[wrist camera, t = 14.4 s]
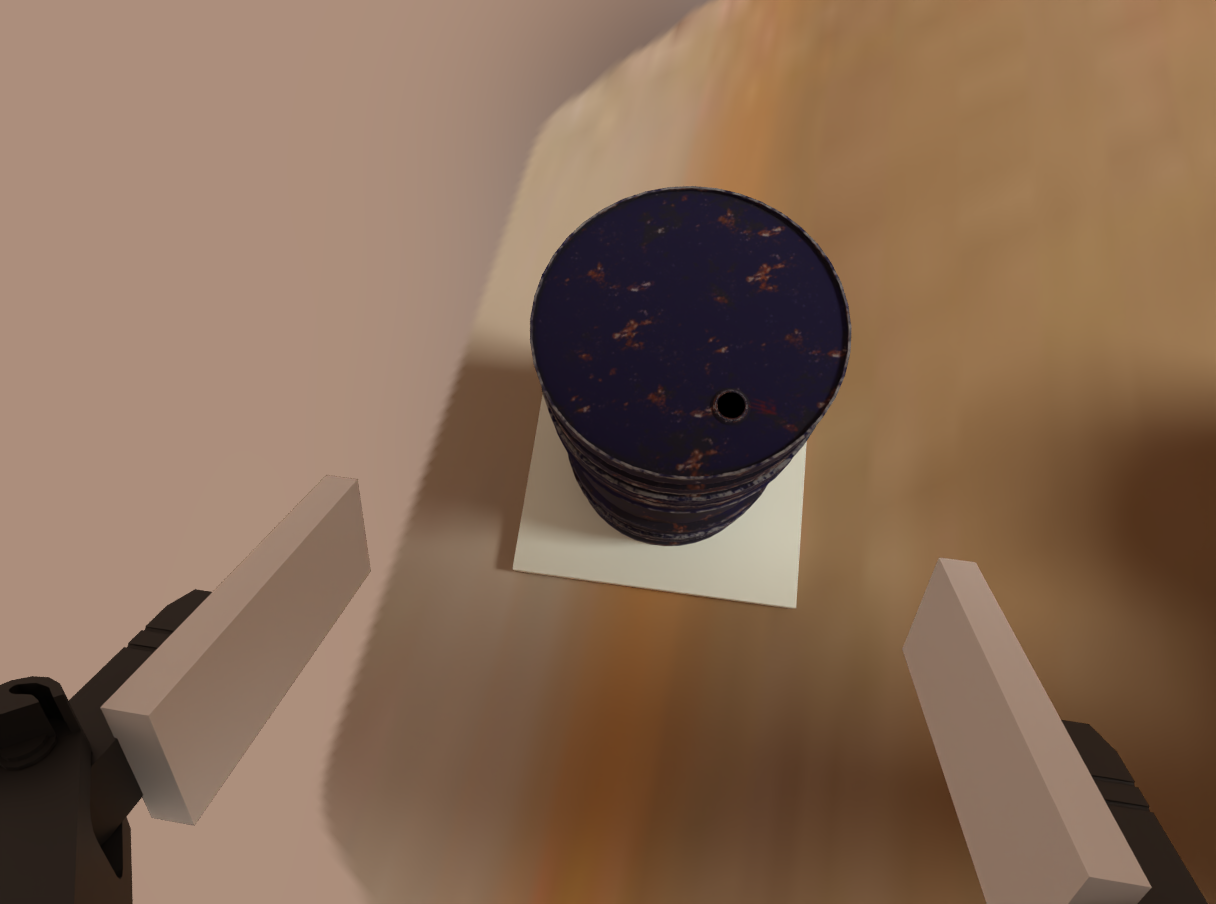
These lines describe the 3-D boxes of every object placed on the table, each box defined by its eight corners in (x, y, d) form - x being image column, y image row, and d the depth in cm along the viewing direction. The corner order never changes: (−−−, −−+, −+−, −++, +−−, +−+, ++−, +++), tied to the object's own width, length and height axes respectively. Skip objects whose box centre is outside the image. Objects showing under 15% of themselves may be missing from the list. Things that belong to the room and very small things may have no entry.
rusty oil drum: (544, 407, 35) (479, 252, 21) (711, 336, 36) (759, 138, 22) (620, 581, 33) (605, 541, 18) (799, 501, 33) (919, 401, 19)
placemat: (808, 350, 37) (812, 342, 36) (791, 608, 33) (795, 607, 32) (558, 323, 38) (556, 315, 37) (516, 571, 34) (512, 569, 33)
